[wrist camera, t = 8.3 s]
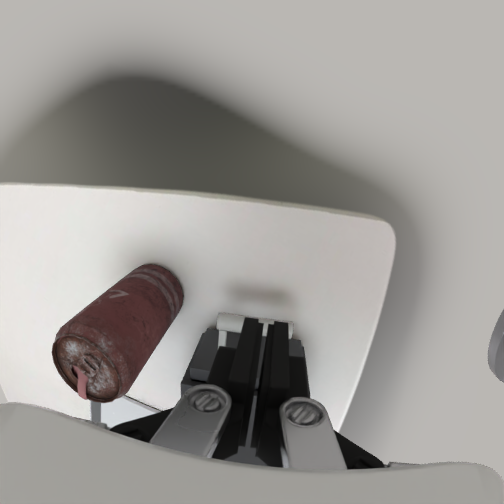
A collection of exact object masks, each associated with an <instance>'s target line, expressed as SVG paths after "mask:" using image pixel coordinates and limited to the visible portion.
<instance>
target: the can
mask: <svg viewBox="0 0 504 504" xmlns="http://www.w3.org/2000/svg"><path fill="white" fill-rule="evenodd" d="M182 303H183V294H182V289H181V286H180V284H179V282H178V281H177V279H176V278H175V277H174V276H173V275H172V274H171V273H170V272H169V271H168V270H166V269H164V268H163V267H161V266H157V265H153V264H149V265H142V266H140V267H138V268H136V269H135V270H133V271H132V272H131V273H129V274H128V275H127V276H125V277H124V278H123V279H121V280H120V281H119V282H117V283H116V284H115V285H114V286H112V287H111V288H110V289H108V290H107V291H106V292H105V293H103V294H102V295H101V296H99V297H98V298H97V299H96V300H94V301H93V302H92V303H91V304H89V305H88V306H87V307H86V308H84V309H83V310H82V311H81V312H79V313H78V314H77V315H76V316H74V317H73V318H72V319H71V320H69V321H68V322H67V323H66V324H65V325H63V326H62V327H61V328H60V330H59V331H58V333H57V334H56V338H55V342H54V343H53V347H52V356H53V361H54V364H55V366H56V368H57V370H58V373H59V374H60V375H61V377H62V378H63V380H64V381H65V382H66V383H67V384H68V385H69V386H70V387H71V388H72V389H73V390H74V391H75V392H77V393H78V395H79V396H80V397H82V398H83V399H86V400H87V399H89V400H91V401H93V402H98V403H109V402H113V401H114V400H115V399H118V398H121V397H122V396H123V395H125V394H126V393H127V392H128V391H129V389H130V387H131V386H132V384H133V383H134V381H135V380H136V378H137V376H138V375H139V373H140V372H141V370H142V368H143V367H144V365H145V364H146V362H147V361H148V359H149V358H150V356H151V354H152V353H153V351H154V350H155V348H156V347H157V345H158V344H159V342H160V340H161V339H162V337H163V336H164V334H165V333H166V331H167V330H168V328H169V327H170V325H171V324H172V322H173V320H174V319H175V317H176V316H177V314H178V313H179V311H180V309H181V307H182Z"/></svg>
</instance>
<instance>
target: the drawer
mask: <svg viewBox="0 0 504 504" xmlns="http://www.w3.org/2000/svg"><path fill="white" fill-rule="evenodd" d="M245 317H249V316H241V315H234V314H227V313H219V314H218V318H217V325H216V327H217V329H218V330H216V329H210V328H207V330H206V332H205V335H204V337H203V339H202V342H201V344H200V346H199V349H198V351H197V353H196V356H195V358H194V360H193V363H192V365H191V368H190V378H191V379H196V380H201V383H206V381H207V378H208V376H209V373H210V370H211V367H212V365H213V362H214V359H215V356H216V354H217V351H218V348H219V346H225V347H232V348H237V345H238V341H239V338H240V334H241V330H242V326H243V322H244V319H245ZM250 318H256V317H250ZM257 319H259V323H264V326H263V334H262V341H261V349H260V356H259V364H258V371H257V378H256V385H255V391H258V385H259V378H260V372H261V366H262V360H263V354H264V348H265V342H266V335H267V329H268V324H274V321H279V322H287V323H288V326H289V355H290V356H300V357H303V354H302V346H301V340H292V339H291V338H292V335H293V327H294V324H293V322H289V321H280V320H272V319H264V318H257ZM229 331H231V332H229ZM236 332H238V333H236Z"/></svg>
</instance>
